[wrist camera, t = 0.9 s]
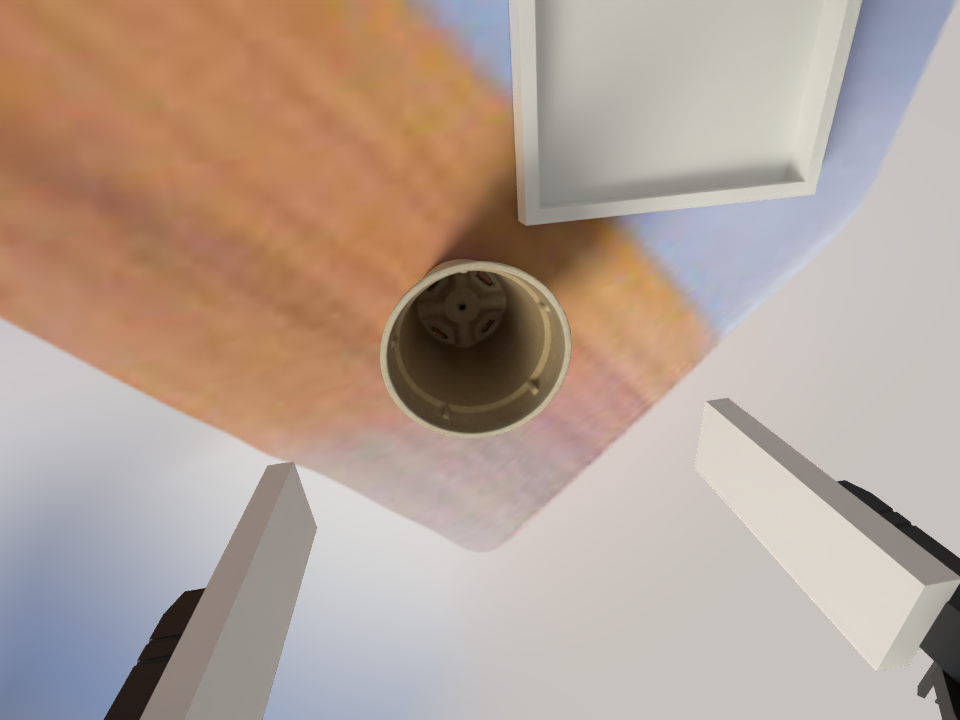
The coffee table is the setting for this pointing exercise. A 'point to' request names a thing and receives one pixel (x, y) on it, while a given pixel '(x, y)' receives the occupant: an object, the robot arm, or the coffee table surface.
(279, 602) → the robot arm
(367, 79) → the coffee table surface
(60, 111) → the coffee table surface
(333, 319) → the coffee table surface
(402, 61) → the coffee table surface
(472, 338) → the flower pot
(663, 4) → the tray
